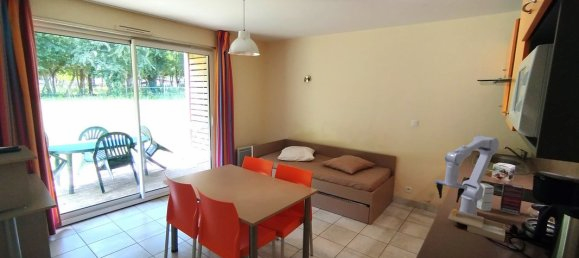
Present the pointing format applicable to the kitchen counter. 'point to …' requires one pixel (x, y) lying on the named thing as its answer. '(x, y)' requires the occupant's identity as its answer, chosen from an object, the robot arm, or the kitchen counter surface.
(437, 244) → the kitchen counter surface
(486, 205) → the syrup box
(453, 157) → the robot arm
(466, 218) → the lid panel
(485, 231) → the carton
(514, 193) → the supplement box
